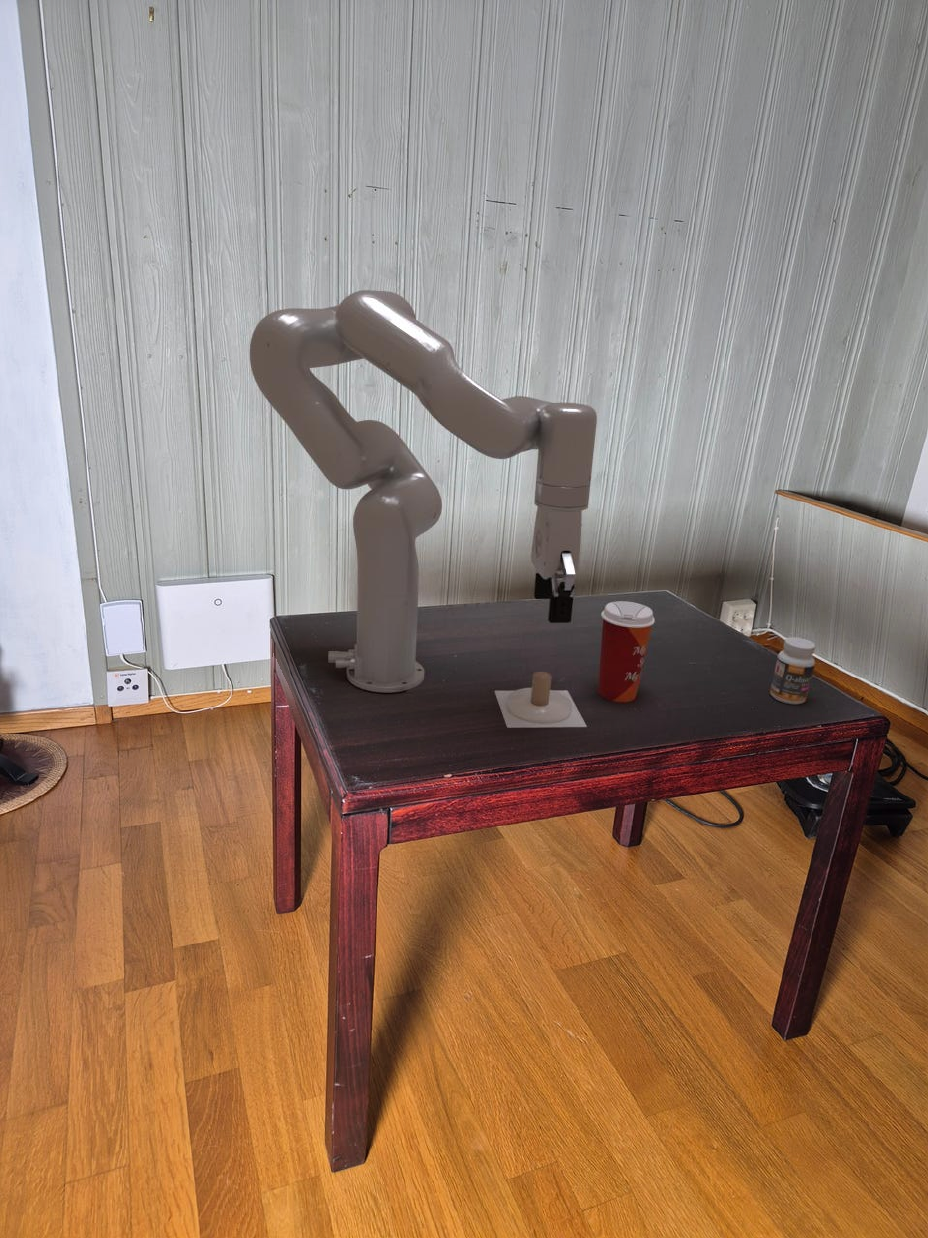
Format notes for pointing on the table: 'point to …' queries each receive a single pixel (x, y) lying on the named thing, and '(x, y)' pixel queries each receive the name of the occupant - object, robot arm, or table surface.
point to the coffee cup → (623, 649)
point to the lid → (539, 702)
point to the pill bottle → (793, 671)
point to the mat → (515, 722)
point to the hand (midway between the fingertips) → (551, 609)
